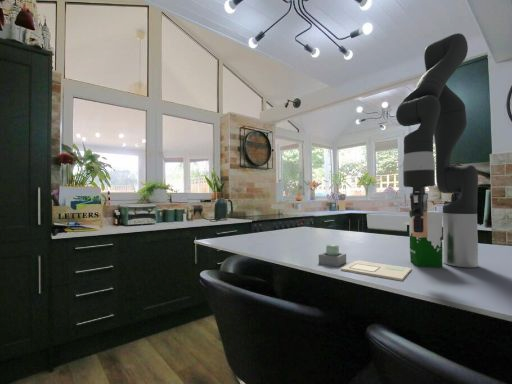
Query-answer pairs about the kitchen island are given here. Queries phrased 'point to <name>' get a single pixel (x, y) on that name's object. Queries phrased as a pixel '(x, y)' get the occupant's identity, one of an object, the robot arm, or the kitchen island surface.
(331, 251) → the button
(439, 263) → the milk carton
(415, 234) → the orange jar
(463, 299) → the kitchen island surface
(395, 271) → the sheet
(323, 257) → the button base
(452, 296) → the kitchen island surface
